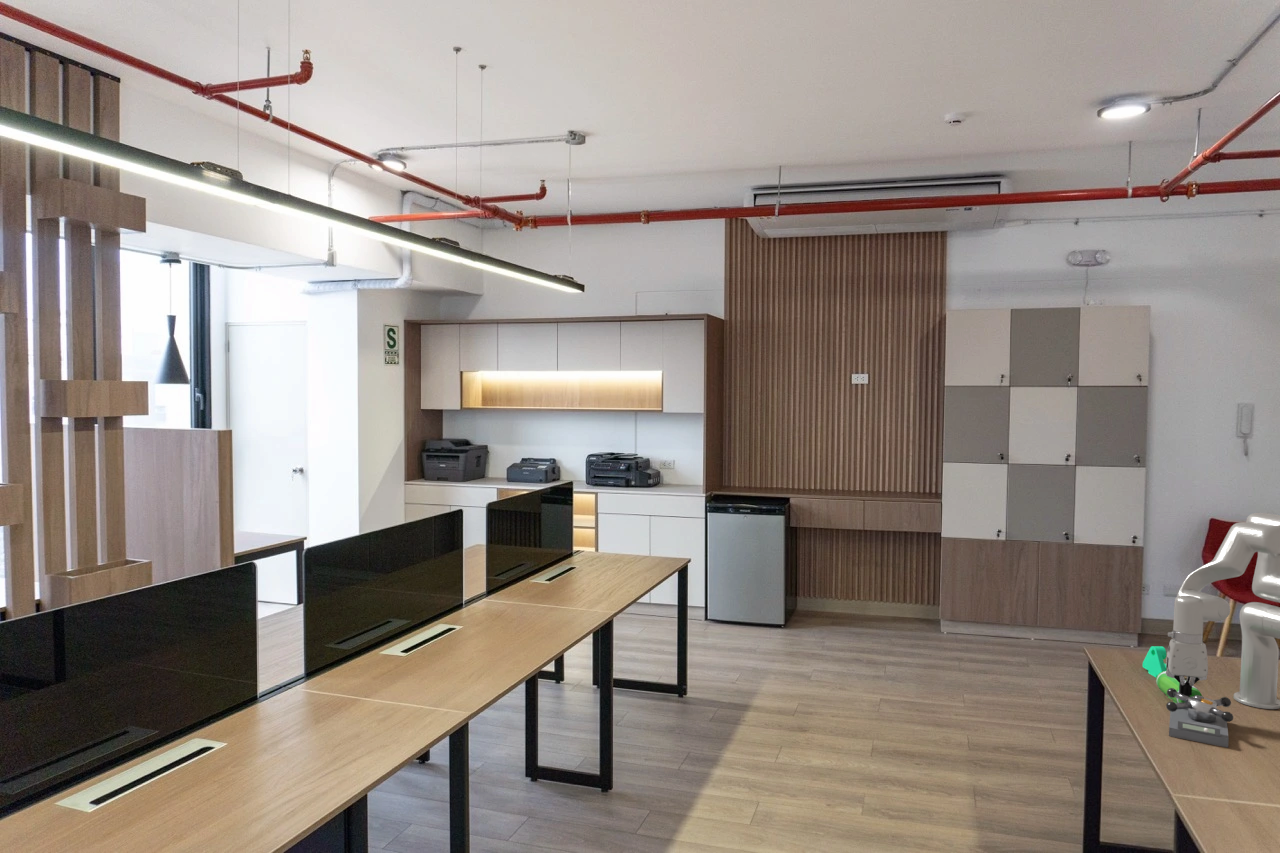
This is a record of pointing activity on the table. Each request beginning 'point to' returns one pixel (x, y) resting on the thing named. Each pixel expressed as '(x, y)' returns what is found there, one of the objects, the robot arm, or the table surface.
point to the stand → (1198, 729)
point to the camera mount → (1155, 660)
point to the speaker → (1172, 686)
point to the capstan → (1200, 706)
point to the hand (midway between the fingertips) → (1185, 696)
